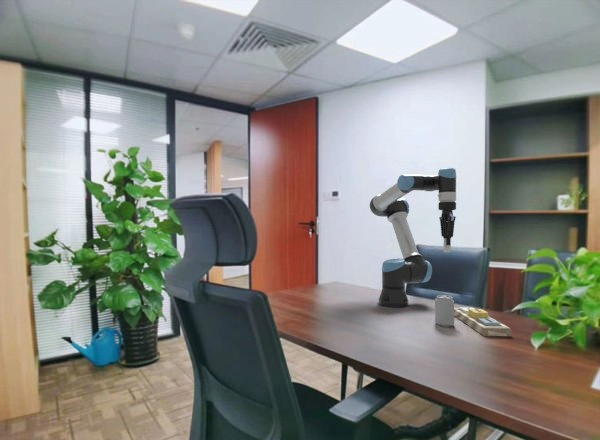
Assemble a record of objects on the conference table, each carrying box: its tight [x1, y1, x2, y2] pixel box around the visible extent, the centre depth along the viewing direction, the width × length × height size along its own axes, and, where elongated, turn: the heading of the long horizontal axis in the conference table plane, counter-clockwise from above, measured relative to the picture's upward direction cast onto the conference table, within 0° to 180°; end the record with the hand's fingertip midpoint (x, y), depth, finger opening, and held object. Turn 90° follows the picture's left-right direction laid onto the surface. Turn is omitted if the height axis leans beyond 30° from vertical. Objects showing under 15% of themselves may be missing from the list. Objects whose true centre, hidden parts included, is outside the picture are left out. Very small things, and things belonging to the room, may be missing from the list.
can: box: [434, 294, 455, 328], centre depth 142 cm, size 8×8×12 cm
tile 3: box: [478, 318, 501, 326], centre depth 135 cm, size 6×6×3 cm
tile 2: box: [468, 308, 489, 319], centre depth 143 cm, size 6×6×3 cm
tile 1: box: [459, 307, 474, 314], centre depth 152 cm, size 6×6×3 cm
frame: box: [454, 307, 512, 337], centre depth 143 cm, size 30×10×3 cm, turn 178°
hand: (447, 252), depth 157 cm, fingers closed
